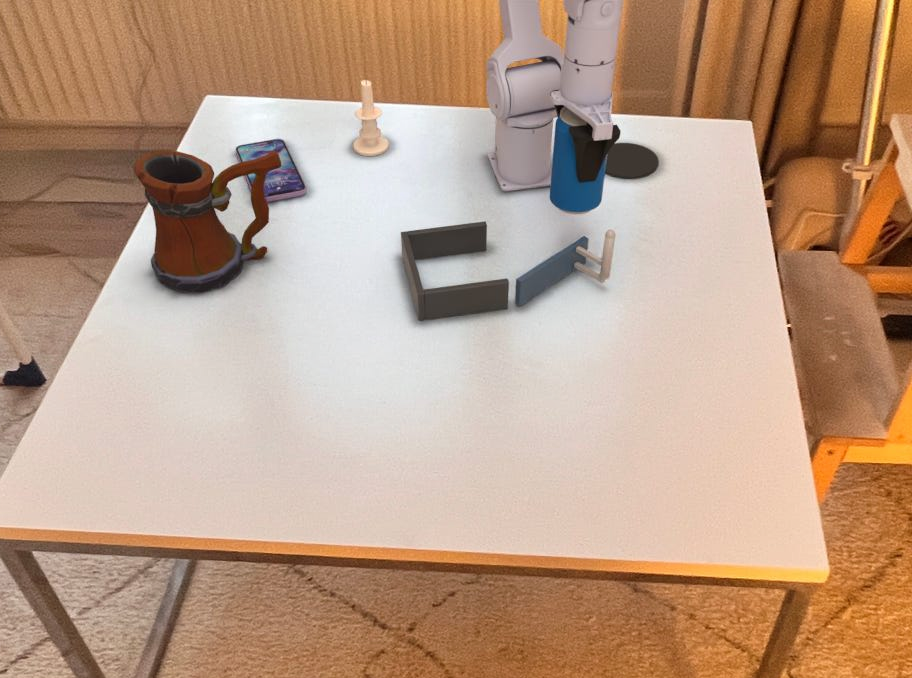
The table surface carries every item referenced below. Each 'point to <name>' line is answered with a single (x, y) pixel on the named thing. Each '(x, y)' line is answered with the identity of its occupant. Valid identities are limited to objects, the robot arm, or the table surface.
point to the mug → (200, 218)
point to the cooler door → (565, 267)
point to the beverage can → (571, 171)
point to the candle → (369, 125)
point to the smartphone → (278, 180)
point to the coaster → (630, 161)
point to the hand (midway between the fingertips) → (578, 164)
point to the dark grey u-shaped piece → (457, 296)
